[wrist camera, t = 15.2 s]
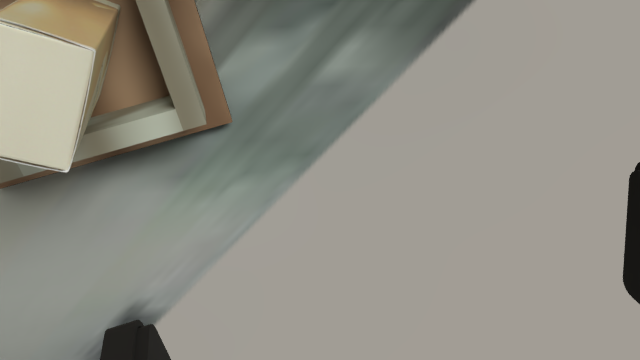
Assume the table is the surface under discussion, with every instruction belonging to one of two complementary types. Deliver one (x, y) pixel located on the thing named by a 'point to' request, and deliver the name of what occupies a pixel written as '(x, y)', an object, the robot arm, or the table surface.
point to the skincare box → (51, 76)
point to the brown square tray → (146, 86)
